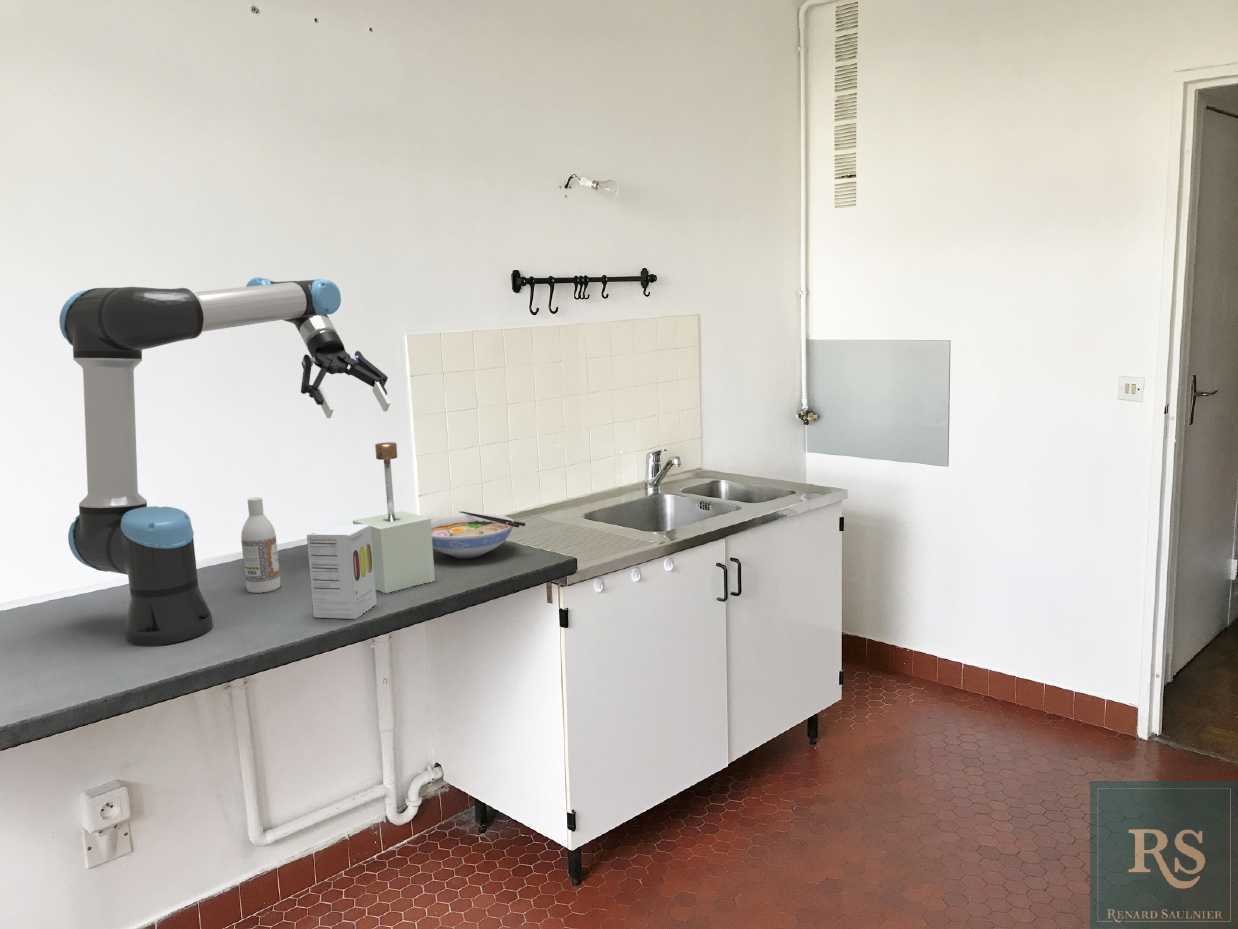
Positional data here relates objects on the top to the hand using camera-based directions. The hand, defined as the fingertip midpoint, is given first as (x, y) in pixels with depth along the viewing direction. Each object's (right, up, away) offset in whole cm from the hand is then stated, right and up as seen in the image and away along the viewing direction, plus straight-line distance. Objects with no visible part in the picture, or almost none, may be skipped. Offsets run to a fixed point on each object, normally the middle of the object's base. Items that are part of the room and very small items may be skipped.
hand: (359, 410), depth 213 cm
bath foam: (-20, -39, -3) cm, 44 cm away
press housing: (+8, -37, -2) cm, 38 cm away
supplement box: (+3, -41, -20) cm, 46 cm away
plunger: (+8, -26, -4) cm, 27 cm away
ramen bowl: (+21, -34, +19) cm, 44 cm away
